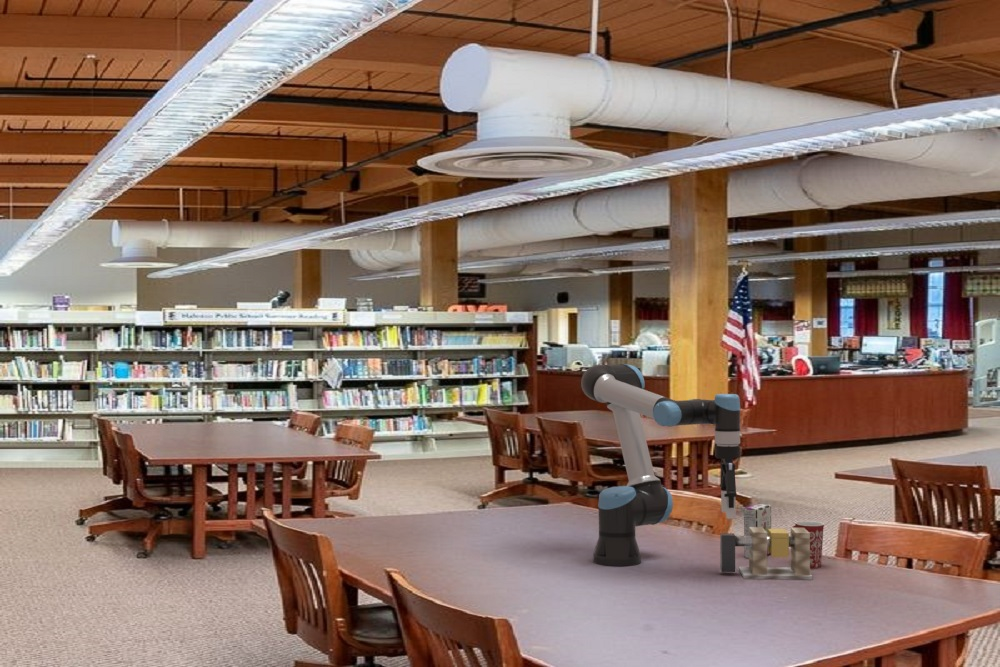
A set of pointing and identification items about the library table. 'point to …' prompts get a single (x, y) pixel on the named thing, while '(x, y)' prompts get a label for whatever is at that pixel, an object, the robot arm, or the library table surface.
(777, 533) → the spacer
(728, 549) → the shaft
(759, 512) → the candy bar box
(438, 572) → the library table surface
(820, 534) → the mug
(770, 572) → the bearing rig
